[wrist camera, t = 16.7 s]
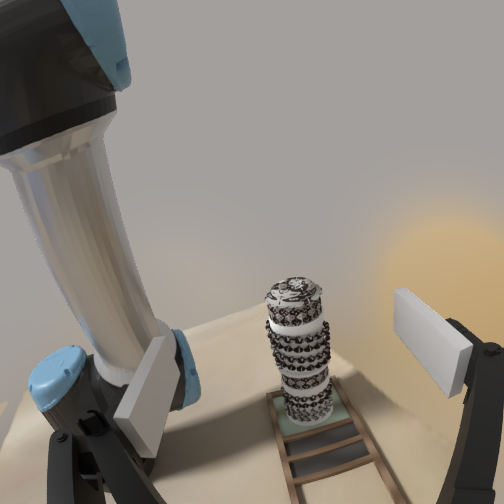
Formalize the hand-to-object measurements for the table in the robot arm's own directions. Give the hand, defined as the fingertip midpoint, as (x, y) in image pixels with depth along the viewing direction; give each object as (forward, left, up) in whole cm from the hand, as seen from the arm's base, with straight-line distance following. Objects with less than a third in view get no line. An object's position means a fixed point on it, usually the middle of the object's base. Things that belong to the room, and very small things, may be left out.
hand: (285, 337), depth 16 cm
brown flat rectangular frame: (-6, +12, -32) cm, 35 cm away
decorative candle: (-13, +20, -32) cm, 40 cm away
